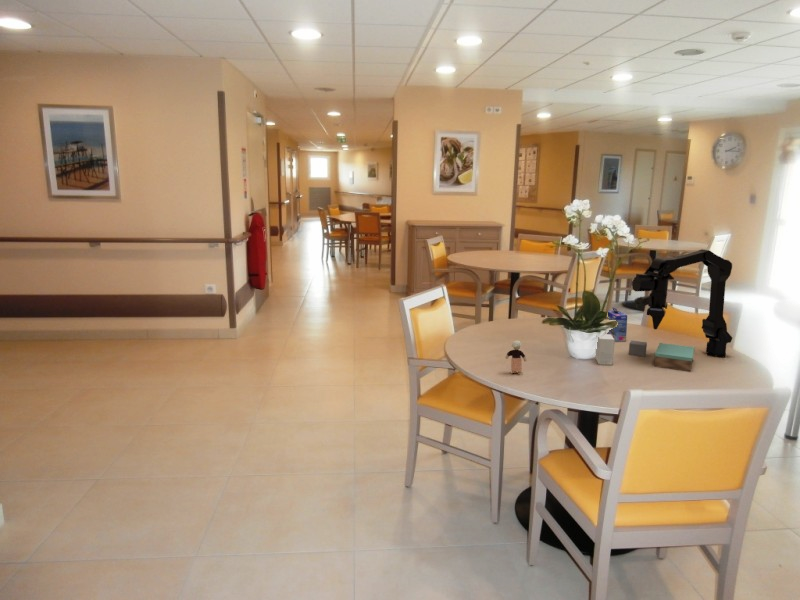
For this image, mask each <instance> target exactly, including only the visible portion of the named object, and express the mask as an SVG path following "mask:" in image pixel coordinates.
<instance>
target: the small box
mask: <svg viewBox="0 0 800 600" xmlns="http://www.w3.org/2000/svg"><path fill="white" fill-rule="evenodd" d="M604 334H605V335H604V336H602V337H598V342H597V349H596V348H595V354H596V355H595V356H594V358H595V361H596V362H597V364H598V365H603V366H604V365H605V366H606V365H608V366H613V365H614V358H615V357H614V355H615V354H614V353H615V339H614V338H613V337H612V335H611V334H606V333H604Z"/></svg>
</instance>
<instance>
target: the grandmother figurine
mask: <svg viewBox="0 0 800 600" xmlns="http://www.w3.org/2000/svg"><path fill="white" fill-rule="evenodd" d="M521 345H522V343H521V341H520V340H514V341H513V342H512V343H511V347H512V348H513V349H512V350H509V351H508V352H507V353H506V356H505V357H504V358H505V359H506V360H507V359H509V357H511V358H510V359H511V361H510V367H511V369H510V370H511V371H512V373H515V372H516V373H518V374H517V375H519V374H521V375H523V374H524V372H523V370H522V369H523V367H522V359H523V362H527V358H526V354H525V353H524V352H523V351H522V350H520V348H521ZM522 373H523V374H522Z"/></svg>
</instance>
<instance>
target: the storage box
mask: <svg viewBox="0 0 800 600" xmlns="http://www.w3.org/2000/svg"><path fill="white" fill-rule="evenodd" d="M692 364H693V360H692V361H686V360H679V359H672V358H665V357H658V356H655V360H654V367H656V368H657V367H658V368H664V369H672V370H677V371H678V370H679V371H686V372H691V368H692Z"/></svg>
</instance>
